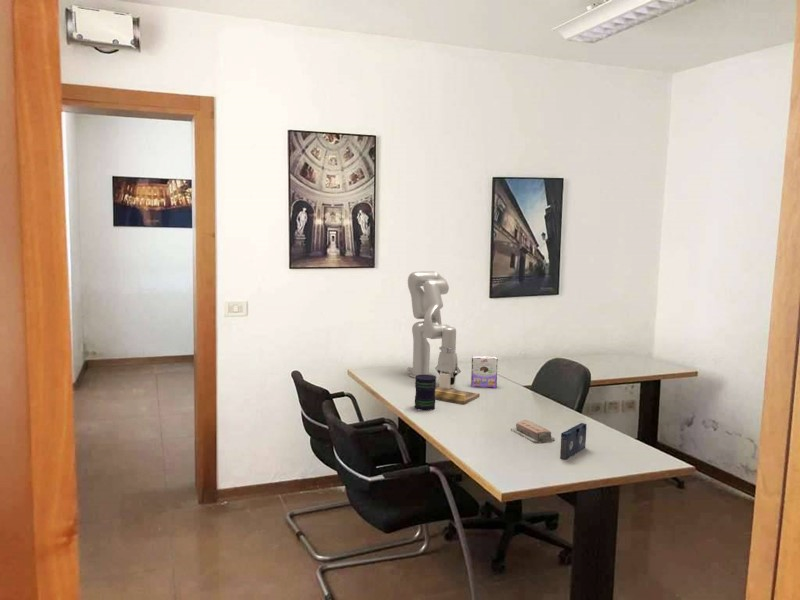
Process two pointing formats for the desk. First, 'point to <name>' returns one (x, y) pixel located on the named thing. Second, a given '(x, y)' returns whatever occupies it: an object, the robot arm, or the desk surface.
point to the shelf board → (454, 395)
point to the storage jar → (425, 392)
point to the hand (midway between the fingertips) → (447, 383)
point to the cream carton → (446, 380)
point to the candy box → (484, 371)
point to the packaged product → (533, 431)
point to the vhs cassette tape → (573, 441)
